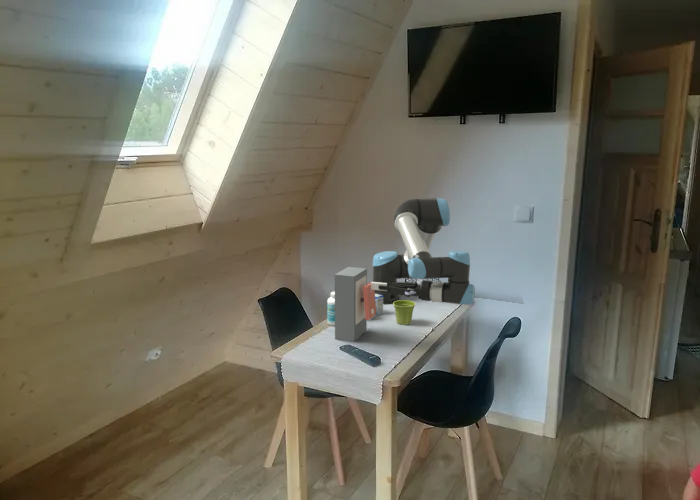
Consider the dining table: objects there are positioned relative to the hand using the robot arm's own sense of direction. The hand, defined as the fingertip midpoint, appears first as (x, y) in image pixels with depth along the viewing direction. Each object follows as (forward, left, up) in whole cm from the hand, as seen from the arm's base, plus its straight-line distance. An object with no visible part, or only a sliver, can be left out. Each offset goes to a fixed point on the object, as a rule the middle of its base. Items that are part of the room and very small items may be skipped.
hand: (371, 285), depth 211 cm
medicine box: (-32, -4, -21) cm, 39 cm away
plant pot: (-21, +11, -21) cm, 32 cm away
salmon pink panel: (0, 0, -13) cm, 13 cm away
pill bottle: (-14, -17, -21) cm, 31 cm away
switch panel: (-1, -7, -21) cm, 22 cm away
